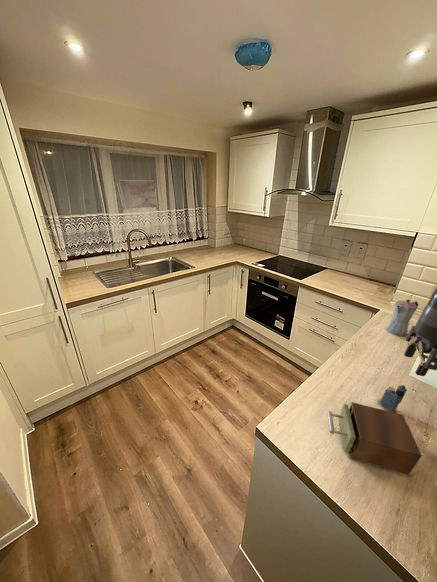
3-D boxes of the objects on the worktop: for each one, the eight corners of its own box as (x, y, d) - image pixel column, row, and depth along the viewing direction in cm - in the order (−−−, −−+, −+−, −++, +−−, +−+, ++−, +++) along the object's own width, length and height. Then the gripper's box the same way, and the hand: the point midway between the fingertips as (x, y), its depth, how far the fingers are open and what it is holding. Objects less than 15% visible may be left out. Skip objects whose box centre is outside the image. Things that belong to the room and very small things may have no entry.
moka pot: (378, 329, 132) (391, 297, 123) (397, 324, 137) (410, 293, 129) (395, 338, 124) (410, 306, 115) (414, 333, 129) (429, 301, 121)
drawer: (327, 446, 71) (333, 431, 68) (323, 414, 81) (328, 399, 78) (395, 467, 67) (405, 451, 64) (382, 430, 77) (390, 415, 73)
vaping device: (392, 414, 83) (405, 390, 78) (378, 402, 87) (389, 379, 82) (396, 412, 84) (409, 388, 79) (382, 400, 88) (393, 376, 83)
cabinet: (352, 458, 69) (361, 438, 65) (344, 420, 80) (351, 402, 76) (408, 475, 66) (422, 455, 62) (392, 433, 77) (402, 414, 73)
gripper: (468, 339, 59) (439, 385, 66) (439, 312, 71) (417, 353, 79) (433, 332, 61) (408, 378, 68) (410, 307, 73) (391, 348, 80)
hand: (413, 365), depth 73 cm, fingers open, 8 cm apart
